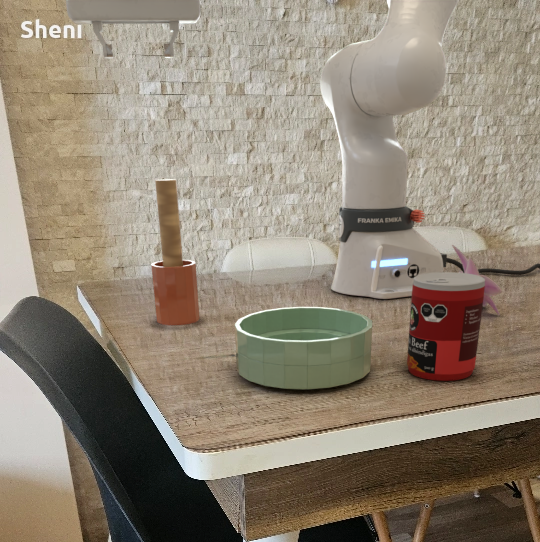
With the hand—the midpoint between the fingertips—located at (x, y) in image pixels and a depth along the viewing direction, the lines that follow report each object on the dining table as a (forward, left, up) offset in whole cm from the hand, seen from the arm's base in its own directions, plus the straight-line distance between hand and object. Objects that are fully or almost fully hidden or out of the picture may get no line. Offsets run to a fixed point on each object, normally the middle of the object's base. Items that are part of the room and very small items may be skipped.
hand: (139, 57), depth 105 cm
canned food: (-32, +53, -37) cm, 72 cm away
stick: (-2, +21, -37) cm, 42 cm away
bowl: (-16, +49, -37) cm, 64 cm away
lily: (-48, +27, -37) cm, 67 cm away
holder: (-2, +21, -37) cm, 43 cm away
